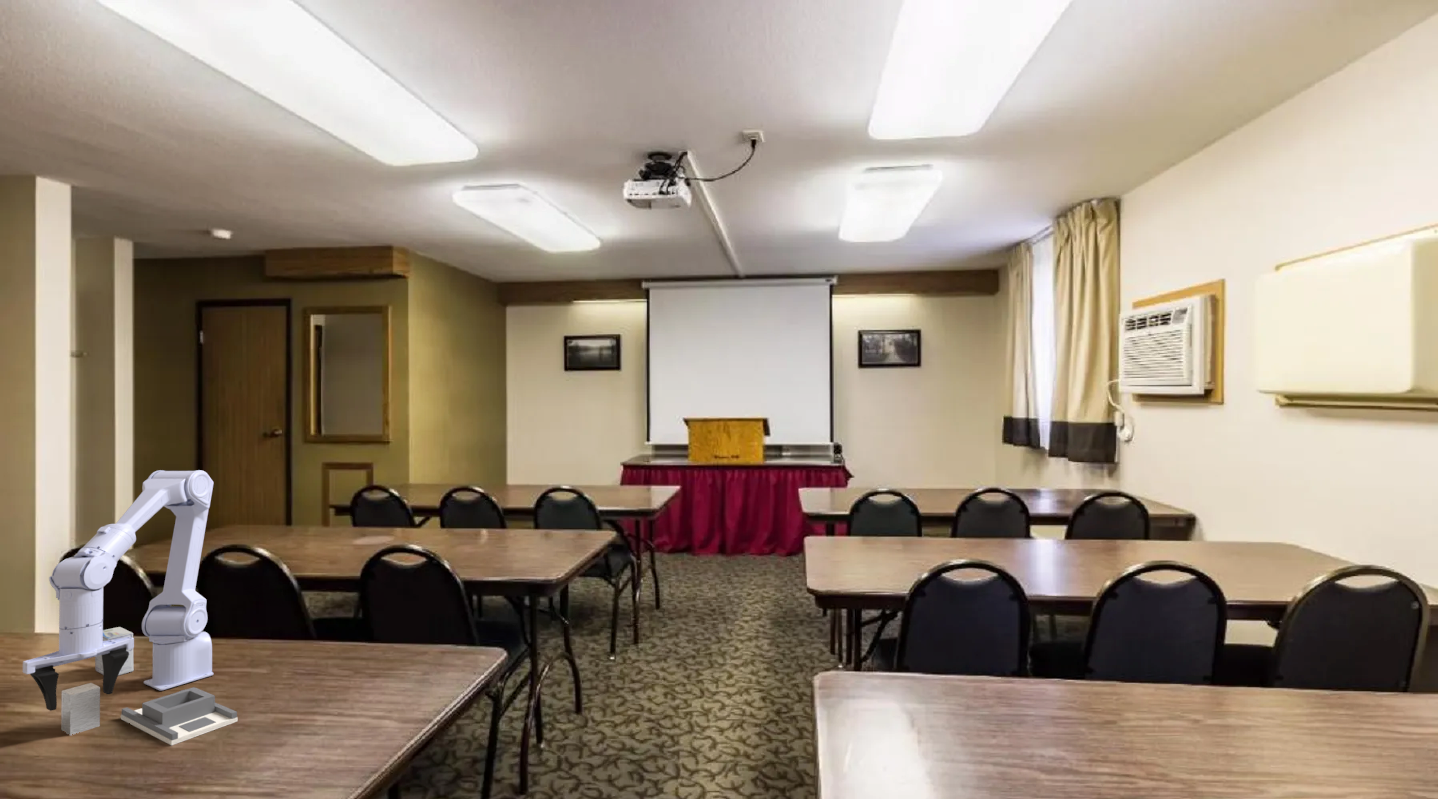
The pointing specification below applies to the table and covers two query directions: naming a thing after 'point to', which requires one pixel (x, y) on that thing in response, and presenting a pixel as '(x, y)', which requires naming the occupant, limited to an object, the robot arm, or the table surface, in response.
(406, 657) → the table surface
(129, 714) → the frame
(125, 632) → the medicine box
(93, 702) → the steel square block
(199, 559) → the robot arm
